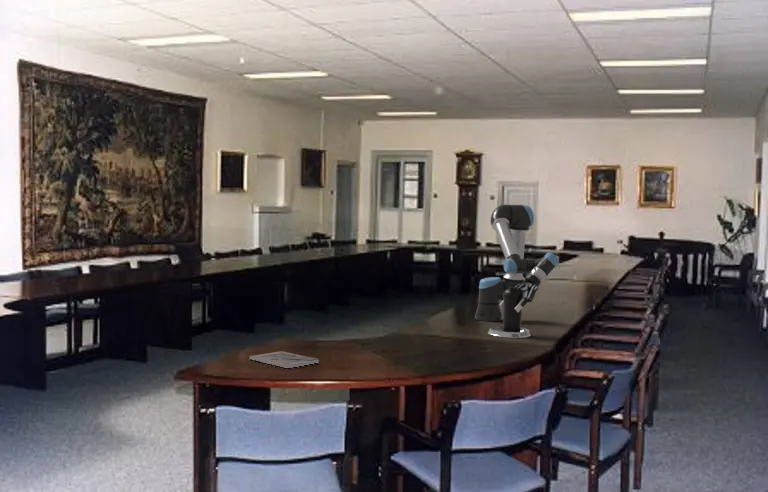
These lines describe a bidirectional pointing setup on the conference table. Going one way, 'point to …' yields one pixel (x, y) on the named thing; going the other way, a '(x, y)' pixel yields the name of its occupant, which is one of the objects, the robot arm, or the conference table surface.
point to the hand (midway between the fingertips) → (508, 308)
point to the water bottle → (512, 310)
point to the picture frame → (284, 359)
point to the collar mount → (499, 332)
